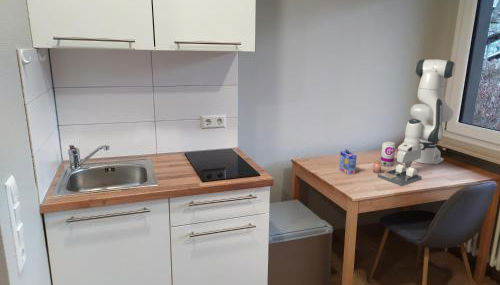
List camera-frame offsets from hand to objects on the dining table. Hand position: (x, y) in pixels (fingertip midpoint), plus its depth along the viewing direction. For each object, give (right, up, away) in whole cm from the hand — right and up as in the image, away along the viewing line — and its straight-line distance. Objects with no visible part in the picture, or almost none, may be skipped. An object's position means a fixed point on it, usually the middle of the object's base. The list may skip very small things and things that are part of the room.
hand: (407, 167), depth 226 cm
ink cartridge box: (-38, -3, +1) cm, 38 cm away
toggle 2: (-2, -4, -9) cm, 10 cm away
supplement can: (-7, +1, +16) cm, 18 cm away
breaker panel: (-9, -6, -8) cm, 13 cm away
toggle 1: (-6, -2, -3) cm, 7 cm away
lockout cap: (-19, -3, +2) cm, 19 cm away
